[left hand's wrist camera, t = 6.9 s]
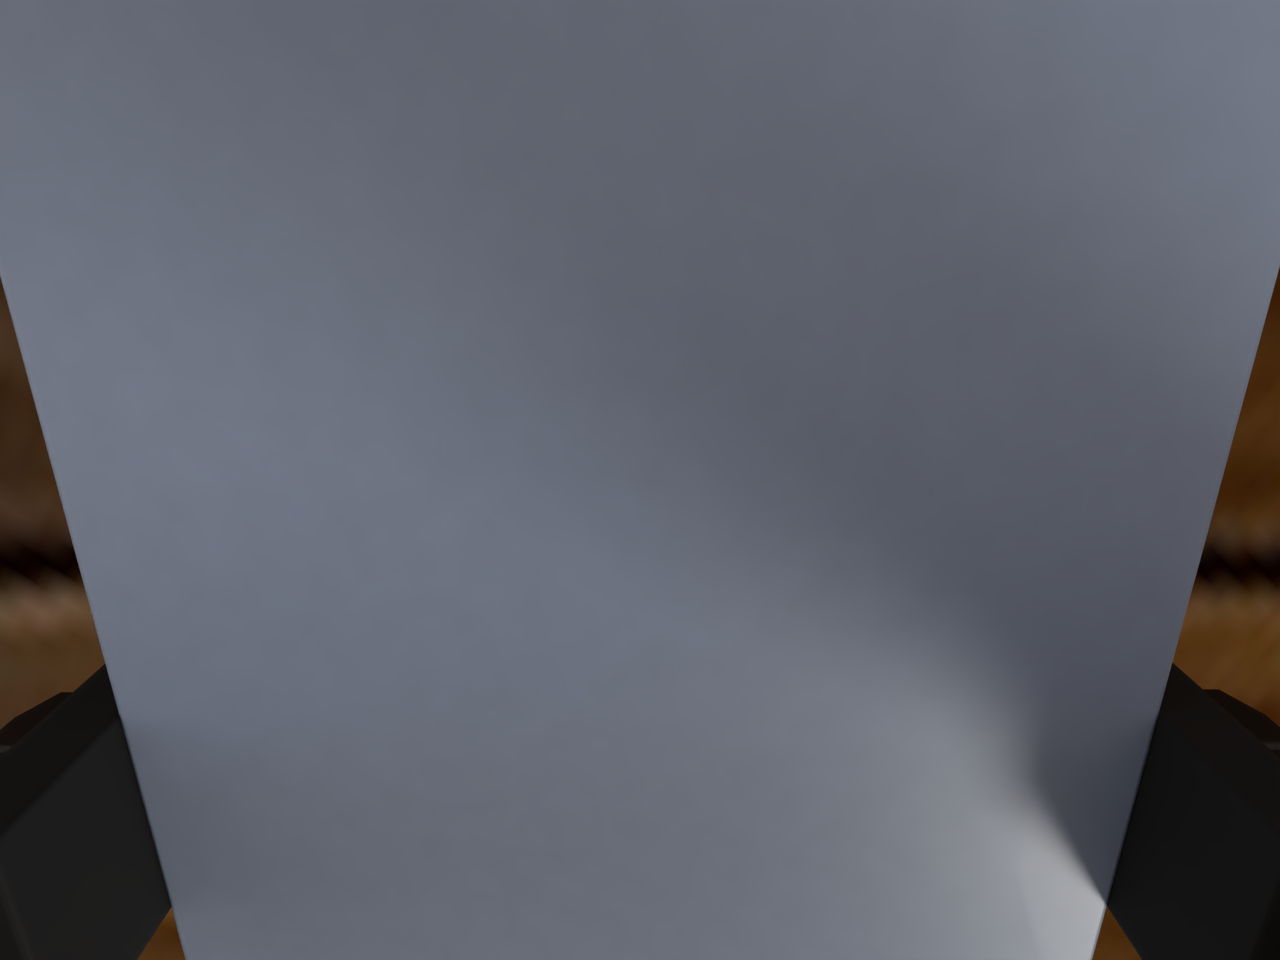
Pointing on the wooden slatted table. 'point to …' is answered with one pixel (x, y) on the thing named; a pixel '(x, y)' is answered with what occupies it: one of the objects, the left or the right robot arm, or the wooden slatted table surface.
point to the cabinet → (639, 450)
